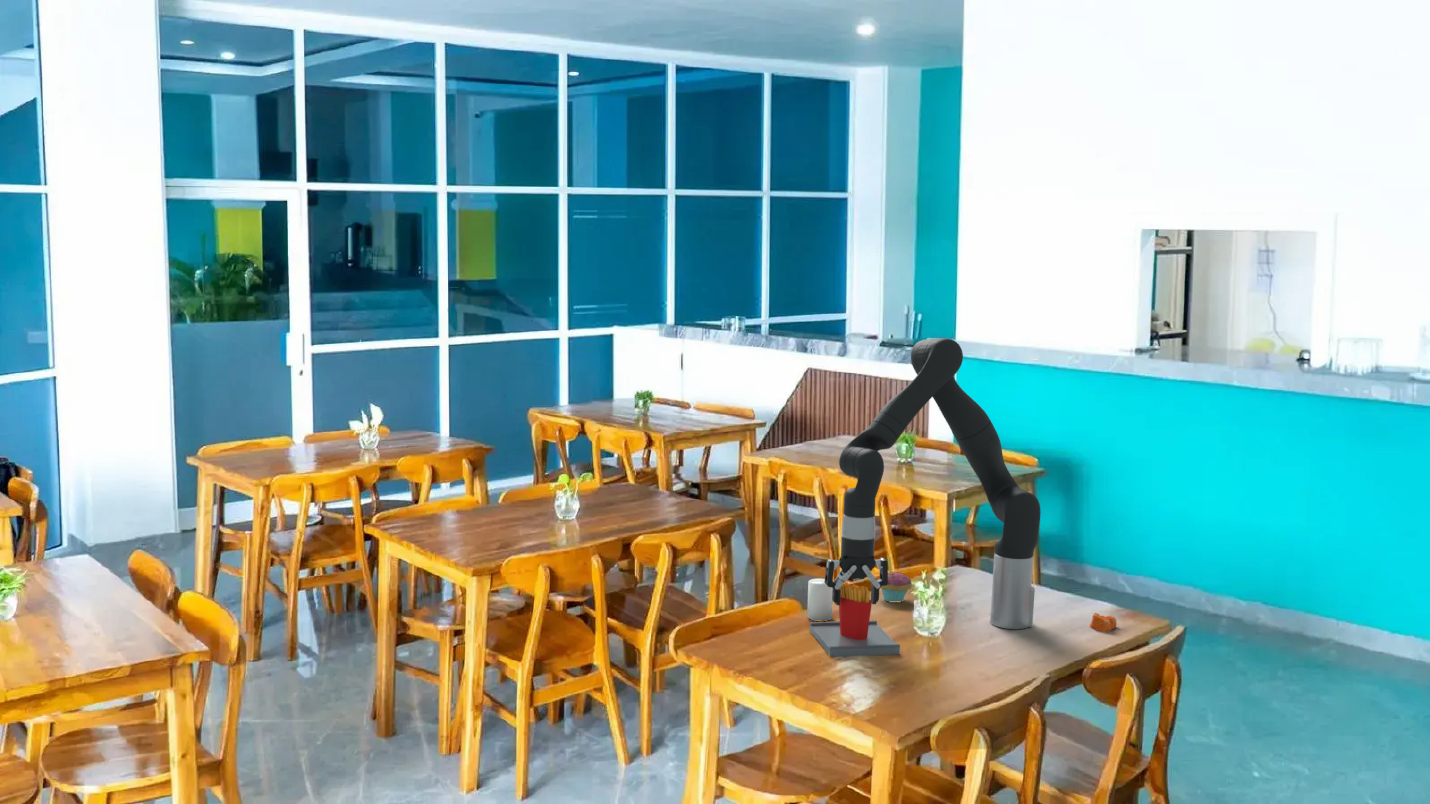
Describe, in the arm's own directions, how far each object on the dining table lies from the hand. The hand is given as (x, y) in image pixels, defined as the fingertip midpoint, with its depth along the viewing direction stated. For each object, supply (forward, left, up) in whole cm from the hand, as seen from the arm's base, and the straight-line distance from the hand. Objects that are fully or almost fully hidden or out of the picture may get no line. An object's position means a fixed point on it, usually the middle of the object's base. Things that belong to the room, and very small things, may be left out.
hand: (855, 603), depth 302 cm
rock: (-64, -5, -10) cm, 65 cm away
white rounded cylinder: (+3, -19, -9) cm, 21 cm away
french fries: (0, 0, -8) cm, 8 cm away
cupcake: (-20, -32, -9) cm, 39 cm away
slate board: (0, 0, -9) cm, 9 cm away
